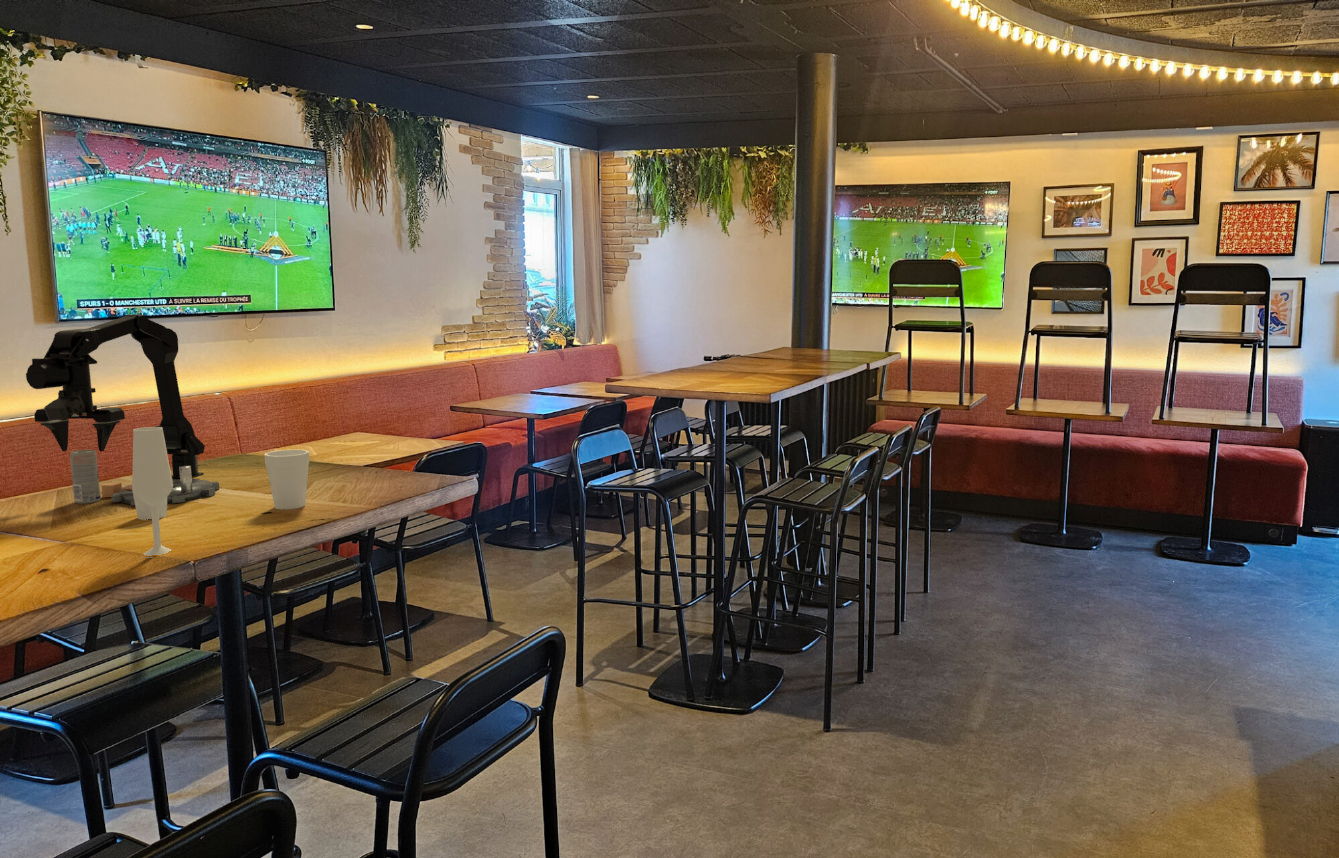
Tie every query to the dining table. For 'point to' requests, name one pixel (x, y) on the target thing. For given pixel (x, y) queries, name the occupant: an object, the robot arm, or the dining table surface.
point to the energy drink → (85, 476)
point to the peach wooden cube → (110, 489)
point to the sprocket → (175, 489)
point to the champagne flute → (151, 476)
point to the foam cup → (288, 477)
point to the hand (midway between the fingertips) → (83, 451)
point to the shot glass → (149, 508)
